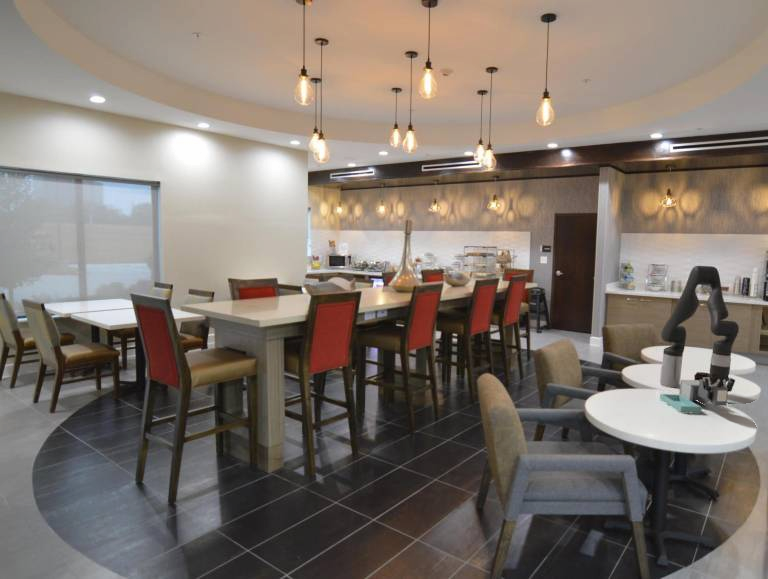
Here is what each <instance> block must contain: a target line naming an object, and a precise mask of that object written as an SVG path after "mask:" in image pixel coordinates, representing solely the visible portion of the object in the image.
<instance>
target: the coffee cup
mask: <svg viewBox="0 0 768 579" xmlns="http://www.w3.org/2000/svg"><path fill="white" fill-rule="evenodd" d="M709 375H710V372H704V371H702V372H701V371H700V372H698V371H697V372H696V373H695V374H694V380H700V379H702V378H703V377H705V378H706V377H709Z"/></svg>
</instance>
